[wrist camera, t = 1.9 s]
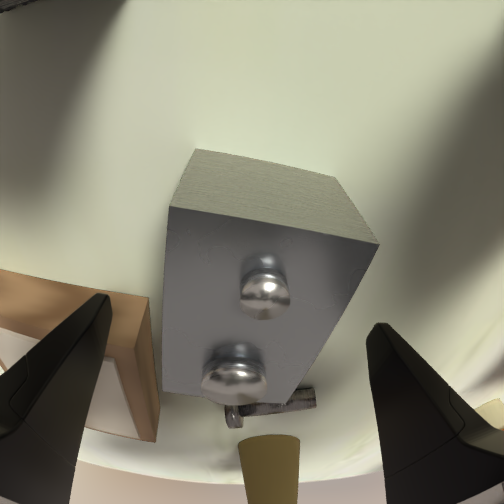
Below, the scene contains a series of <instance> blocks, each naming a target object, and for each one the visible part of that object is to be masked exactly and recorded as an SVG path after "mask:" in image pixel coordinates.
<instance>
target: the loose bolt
mask: <svg viewBox="0 0 504 504" xmlns="http://www.w3.org/2000/svg"><path fill="white" fill-rule="evenodd" d="M311 408H316V397H315V391H314V388H310V389H303V390H297V391H294V392H293V394H292V395H291V397H290V398H289V399H288V401H287V402H286V403H264V402H254V403H251V404H246V405H225V418H226V423H227V426H228V428H242V427H243V417H247V416H258V415H268V414H276V413H284V412H292V411H298V410H305V409H311Z"/></svg>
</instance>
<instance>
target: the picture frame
mask: <svg viewBox="0 0 504 504" xmlns="http://www.w3.org/2000/svg"><path fill="white" fill-rule="evenodd" d="M98 292H100V293H105V294H108V295H109V296H110V300H111V306H112V311H113V317H112V322H111V326H110V331H109V336H108V340H107V345H106V350H105V355H104V360H103V363H102V366H101V370H100V373H99V376H98V379H97V383H96V386H95V390H94V393H93V397H92V400H91V404H90V408H89V411H88V415H87V419H86V423H85V427H86V428H89V429H93V430H97V431H101V432H105V433H109V434H113V435H118V436H122V437H127V438H132V439H137V440H142V441H148V442H154V443H156V436H157V428H158V421H159V413H160V403H159V397H158V389H157V382H156V374H155V366H154V357H153V347H152V337H151V325H150V312H149V298H147V297H141V296H134V295H128V294H122V293H116V292H110V291H104V290H98V289H93V288H87V287H82V286H76V285H71V284H66V283H61V282H56V281H51V280H46V279H41V278H37V277H32V276H27V275H23V274H18V273H14V272H9V271H5V270H1V269H0V366H1V367H2V368H3V370H4V371H7V370H8V369H9V368H10V367H11V366H12V365H14V364H15V363H16V362H17V361H18V360H19V359H20V358H21V357H22V356H23V355H26V353H27V352H28V351H29V350H30V349H31V348H32V347H34V346H35V345H36V344H37V343H38V342H39V341H40V340H41V339H42V338H44V337H45V336H46V335H47V334H48V333H49V332H50V331H52V330H53V329H54V328H55V327H56V326H57V325H58V324H60V323H61V322H62V321H63V320H64V319H65V318H67V317H68V316H69V315H70V314H71V313H73V312H74V311H75V310H76V309H77V308H79V307H80V306H81V305H82V304H83V303H85V302H86V301H87V300H88V299H89V298H91V297H92V296H93V295H94V294H96V293H98Z"/></svg>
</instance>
